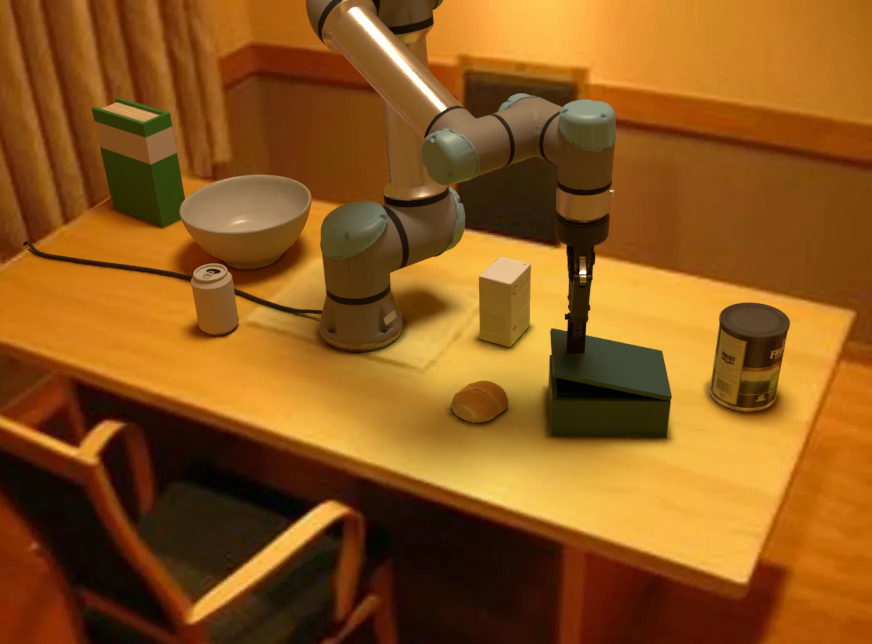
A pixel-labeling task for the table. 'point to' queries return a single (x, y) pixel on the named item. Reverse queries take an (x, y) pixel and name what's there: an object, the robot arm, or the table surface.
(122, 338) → the table surface
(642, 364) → the lunchbox lid
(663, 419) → the box
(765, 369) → the coffee can
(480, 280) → the small box
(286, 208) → the decorative bowl
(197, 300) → the can
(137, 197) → the hardback book
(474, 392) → the bread roll
